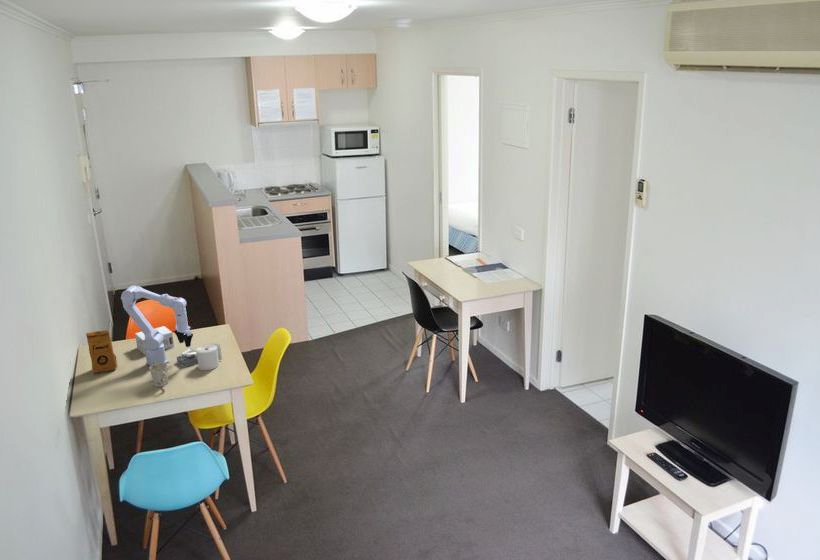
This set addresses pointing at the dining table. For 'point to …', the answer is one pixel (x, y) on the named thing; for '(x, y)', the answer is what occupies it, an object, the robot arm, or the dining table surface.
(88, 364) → the dining table surface
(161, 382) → the mug
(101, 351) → the coffee package
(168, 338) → the supplement box
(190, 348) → the rocker
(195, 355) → the rocker
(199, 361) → the toilet tissue
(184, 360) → the switch housing
